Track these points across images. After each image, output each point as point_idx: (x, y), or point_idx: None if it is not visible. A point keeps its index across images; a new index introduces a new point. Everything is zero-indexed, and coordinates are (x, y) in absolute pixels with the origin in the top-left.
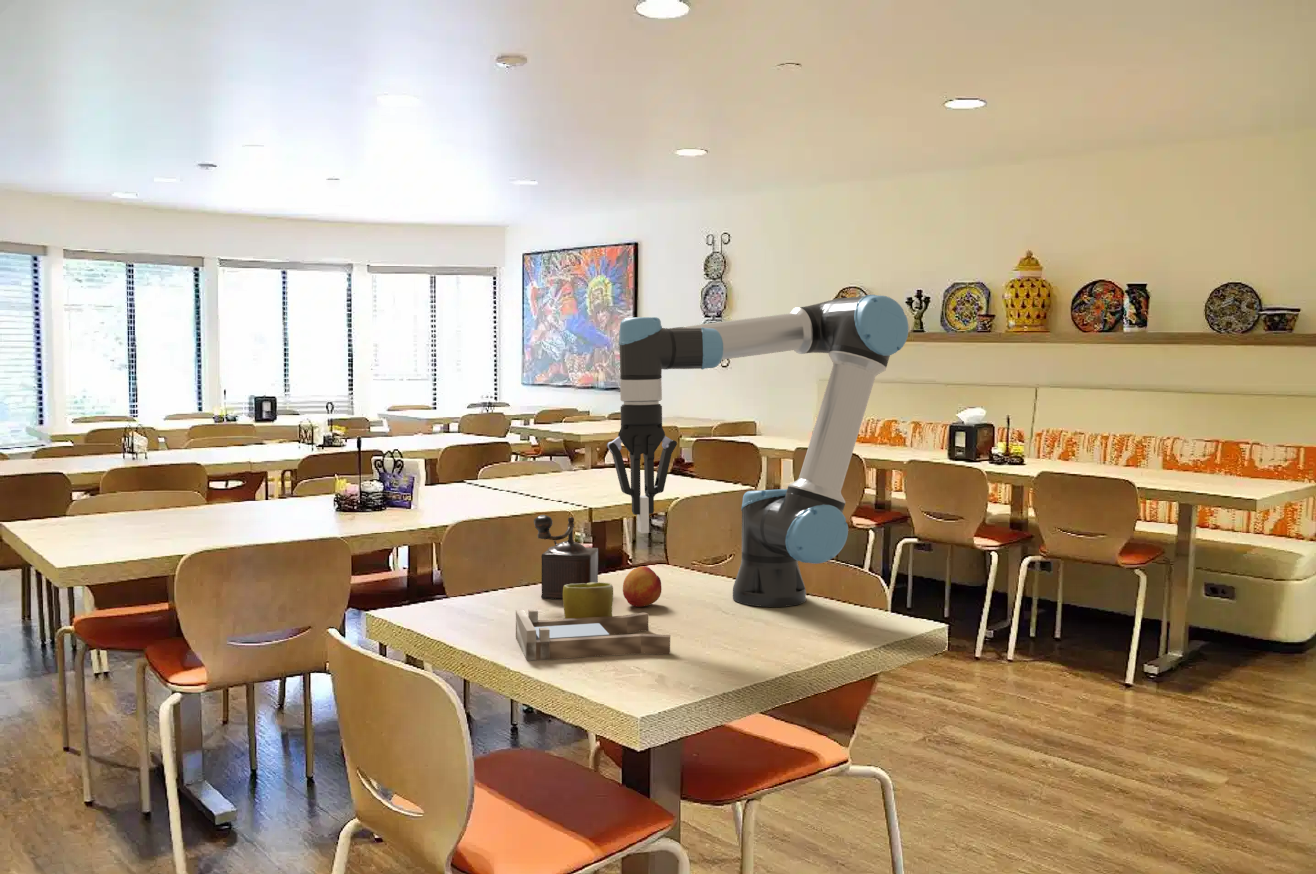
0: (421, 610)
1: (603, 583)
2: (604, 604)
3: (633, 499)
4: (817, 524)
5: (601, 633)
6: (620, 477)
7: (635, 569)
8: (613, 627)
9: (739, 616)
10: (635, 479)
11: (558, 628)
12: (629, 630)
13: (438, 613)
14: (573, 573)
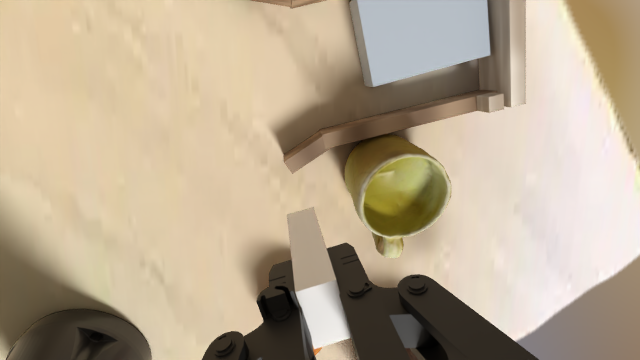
0: (601, 252)
1: (374, 229)
2: (367, 154)
3: (368, 279)
4: None
5: (371, 3)
6: (509, 346)
7: (312, 344)
8: (343, 126)
9: (130, 251)
10: (396, 356)
11: (446, 44)
12: (315, 134)
13: (582, 238)
14: (413, 356)
